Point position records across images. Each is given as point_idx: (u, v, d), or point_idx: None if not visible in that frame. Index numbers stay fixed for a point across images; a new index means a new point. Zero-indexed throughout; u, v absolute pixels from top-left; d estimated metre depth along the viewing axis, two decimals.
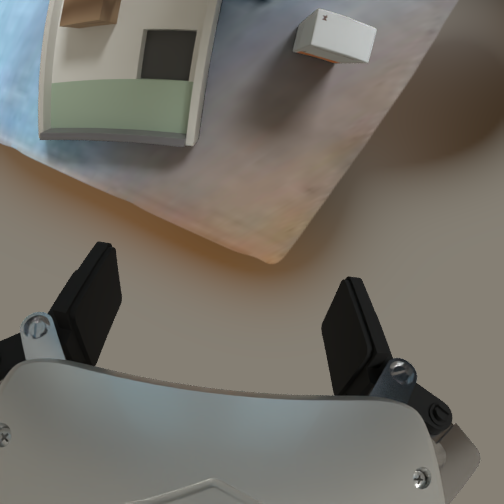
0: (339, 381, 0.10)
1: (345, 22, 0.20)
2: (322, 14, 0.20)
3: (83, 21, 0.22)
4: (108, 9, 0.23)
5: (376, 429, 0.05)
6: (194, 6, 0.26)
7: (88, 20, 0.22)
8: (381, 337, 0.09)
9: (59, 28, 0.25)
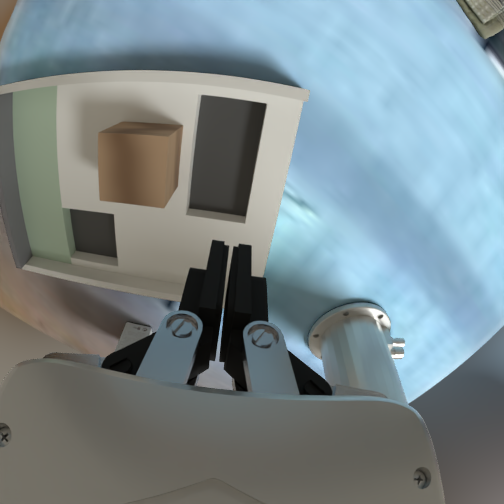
0: (221, 346, 0.10)
1: None
2: None
3: (100, 174, 0.22)
4: None
5: (376, 429, 0.05)
6: (143, 264, 0.33)
7: (100, 183, 0.22)
8: (247, 298, 0.09)
9: (130, 83, 0.22)
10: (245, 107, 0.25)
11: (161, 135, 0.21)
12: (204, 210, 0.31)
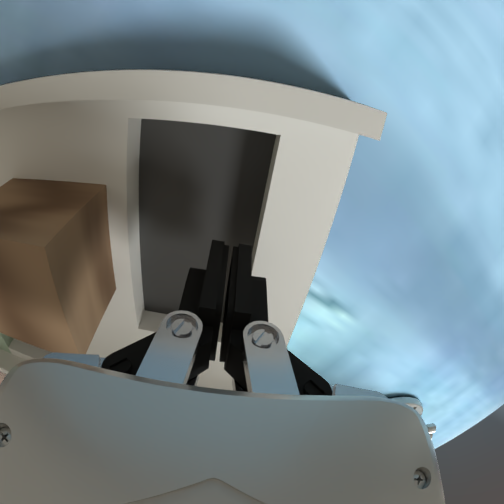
0: None
1: None
2: None
3: None
4: None
5: (376, 429, 0.05)
6: None
7: None
8: (247, 298, 0.09)
9: (14, 107, 0.09)
10: (232, 139, 0.12)
11: (34, 240, 0.08)
12: None
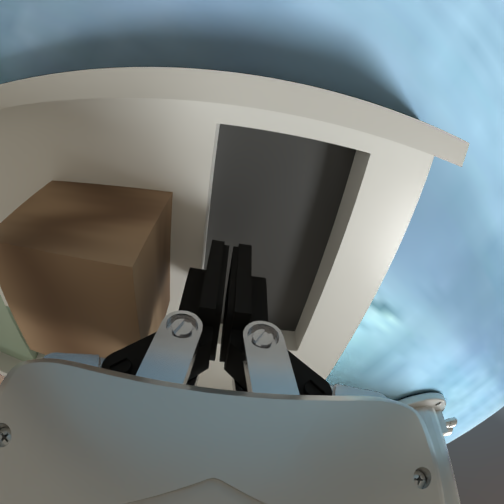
0: None
1: None
2: None
3: None
4: None
5: (376, 429, 0.05)
6: None
7: (20, 326, 0.09)
8: (246, 298, 0.09)
9: (65, 101, 0.09)
10: (315, 151, 0.12)
11: (114, 258, 0.08)
12: None
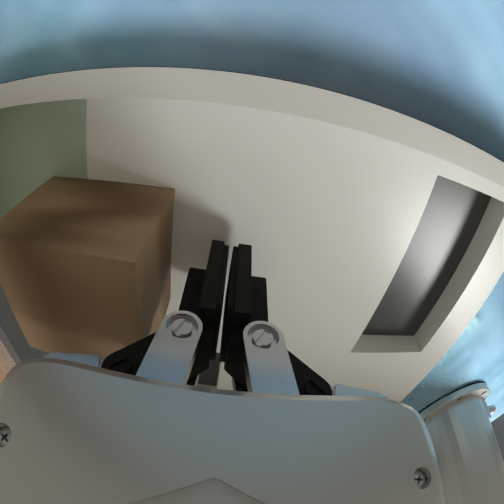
0: None
1: None
2: None
3: None
4: None
5: (376, 429, 0.05)
6: None
7: (20, 322, 0.09)
8: (247, 298, 0.09)
9: (305, 119, 0.10)
10: (470, 197, 0.13)
11: (116, 253, 0.08)
12: (366, 334, 0.19)
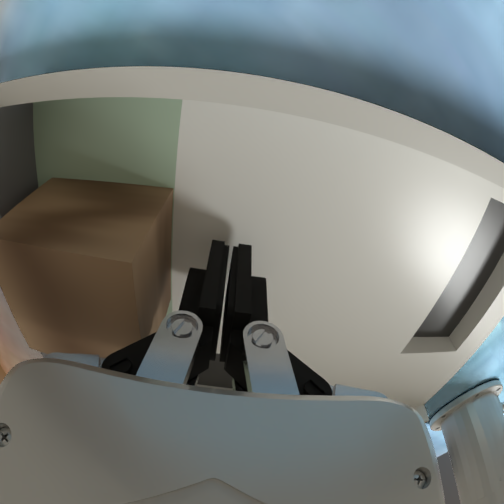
0: None
1: None
2: None
3: None
4: None
5: (376, 429, 0.05)
6: None
7: (20, 324, 0.09)
8: (247, 298, 0.09)
9: (400, 145, 0.10)
10: None
11: (114, 254, 0.08)
12: None
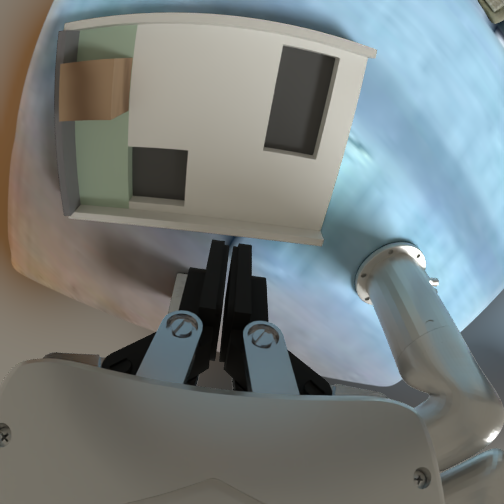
0: None
1: None
2: None
3: (60, 98, 0.21)
4: None
5: (376, 429, 0.05)
6: (212, 202, 0.35)
7: (60, 106, 0.22)
8: (247, 298, 0.09)
9: (219, 28, 0.23)
10: (318, 60, 0.26)
11: None
12: (276, 148, 0.33)
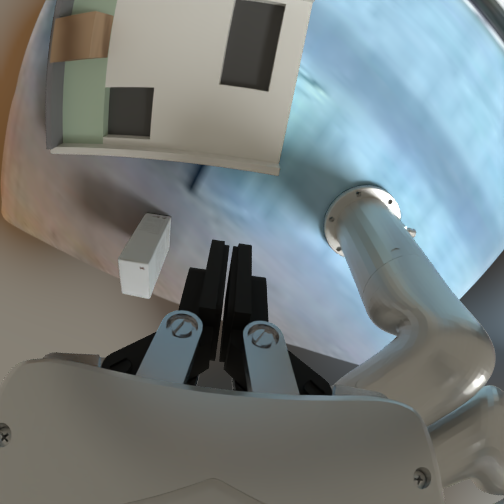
0: (221, 346, 0.11)
1: (143, 280, 0.36)
2: (143, 266, 0.34)
3: (52, 45, 0.23)
4: None
5: (376, 429, 0.05)
6: (174, 134, 0.35)
7: (51, 50, 0.23)
8: (247, 298, 0.09)
9: None
10: (269, 9, 0.27)
11: (92, 12, 0.21)
12: (233, 85, 0.33)
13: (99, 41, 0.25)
